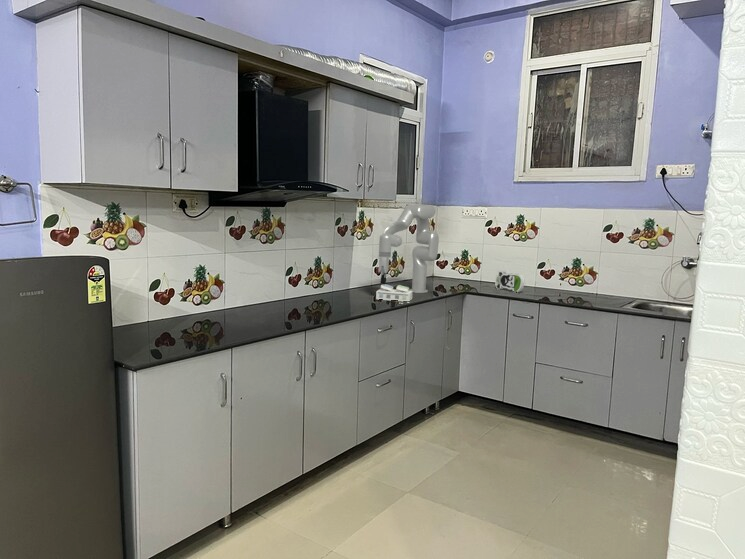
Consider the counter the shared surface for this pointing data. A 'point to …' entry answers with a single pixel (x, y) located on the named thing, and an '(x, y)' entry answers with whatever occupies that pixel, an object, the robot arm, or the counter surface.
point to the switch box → (394, 295)
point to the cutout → (509, 281)
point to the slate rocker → (387, 287)
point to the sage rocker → (402, 288)
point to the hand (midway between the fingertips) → (383, 283)
